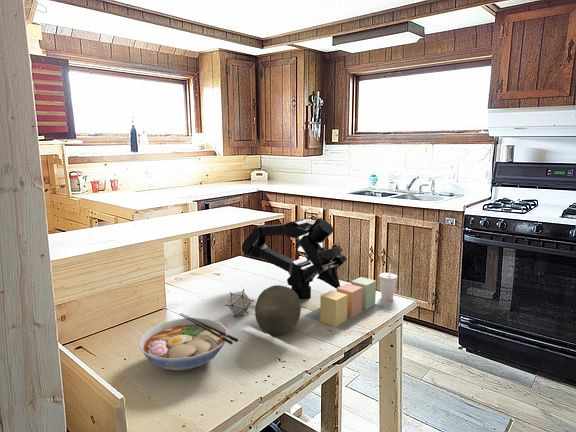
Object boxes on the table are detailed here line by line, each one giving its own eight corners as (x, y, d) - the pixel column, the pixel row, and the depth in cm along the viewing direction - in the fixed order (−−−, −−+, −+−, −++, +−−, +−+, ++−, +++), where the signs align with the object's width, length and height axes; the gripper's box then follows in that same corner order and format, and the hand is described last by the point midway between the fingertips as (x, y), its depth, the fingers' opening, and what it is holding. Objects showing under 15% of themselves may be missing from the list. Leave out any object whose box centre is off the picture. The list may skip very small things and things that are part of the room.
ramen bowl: (122, 360, 112) (120, 331, 111) (196, 332, 128) (195, 307, 126) (170, 401, 95) (168, 368, 93) (249, 363, 110) (248, 334, 109)
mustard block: (320, 320, 132) (320, 295, 131) (331, 314, 137) (331, 290, 135) (335, 326, 128) (336, 300, 127) (346, 320, 133) (347, 294, 131)
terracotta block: (336, 312, 139) (336, 288, 137) (346, 307, 143) (347, 283, 141) (351, 317, 135) (352, 292, 133) (361, 311, 139) (362, 287, 137)
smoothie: (391, 306, 146) (393, 267, 144) (374, 302, 150) (376, 264, 148) (399, 300, 151) (401, 263, 149) (382, 296, 155) (384, 260, 153)
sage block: (350, 304, 145) (351, 281, 143) (360, 299, 149) (361, 276, 148) (365, 309, 141) (366, 285, 139) (375, 304, 145) (376, 280, 144)
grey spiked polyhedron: (234, 325, 140) (214, 303, 139) (246, 308, 147) (228, 287, 145) (250, 320, 135) (230, 296, 133) (263, 302, 141) (244, 280, 139)
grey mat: (303, 319, 137) (303, 315, 136) (345, 297, 154) (345, 294, 154) (344, 334, 126) (344, 330, 126) (384, 309, 144) (384, 306, 143)
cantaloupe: (245, 333, 127) (243, 286, 124) (281, 320, 136) (281, 275, 133) (274, 351, 116) (273, 300, 113) (311, 336, 125) (311, 288, 122)
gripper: (309, 242, 134) (337, 283, 129) (343, 232, 147) (369, 269, 142) (291, 261, 140) (316, 301, 135) (324, 250, 154) (349, 285, 149)
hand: (339, 288), depth 140 cm, fingers closed
